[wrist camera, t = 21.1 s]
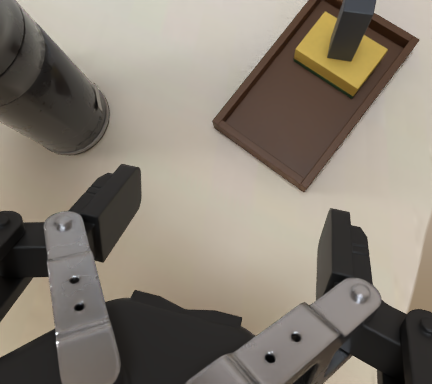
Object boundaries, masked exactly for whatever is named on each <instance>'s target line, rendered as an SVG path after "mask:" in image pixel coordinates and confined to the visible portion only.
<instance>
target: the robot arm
mask: <svg viewBox="0 0 432 384" xmlns="http://www.w3.org/2000/svg"><path fill="white" fill-rule="evenodd" d="M108 121H109V107H108V103H107V101H106V98H105V97H104V95H103V94H102V92H101V91H100V90H99V89H98V86H97V85H96V84H95V83H94V85H93V84H92V83H91V82H90V81H89V79H88V78H87V77H86V76H85V75H84V74H83V73H82V72H81V71H80V69H79V68H78V67H77V66H76V65H75V64H74V63H73V62H72V61H71V60H70V59H69V58H68V56H67V55H66V54H65V53H64V52H63V51H62V50H61V49H60V48H59V47H58V46H57V44H56V43H55V42H54V41H53V40H52V39H51V38H50V37H49V36H48V35H47V34H46V33H45V31H44V30H43V29H42V28H41V27H40V26H39V25H38V24H37V23H36V22H35V21H34V20H33V19H32V18H31V17H30V15H29V14H28V13H27V12H26V11H25V10H24V9H23V8H22V7H21V6H20V5H19V3H18V2H17V1H16V0H0V122H1V123H3V124H5V125H6V126H8V127H10V128H12V129H14V130H16V131H17V132H19V133H21V134H23V135H25V136H27V137H28V138H30V139H32V140H34V141H35V142H37V143H39V144H41V145H42V146H44V147H45V148H47V149H48V150H50V151H52V152H54V153H57V154H61V155H74V154H78V153H81V152H84V151H86V150H88V149H89V148H91V147H92V146H94V145H95V144H96V143H97V142H98V141H99V140H100V138H101V137H102V136H103V134H104V132H105V130H106V128H107V125H108ZM140 203H141V171H140V168H139V167H134V166H130V165H125V164H121V165H120V166H119V167H118V169H117V170H116V171H115V172H114V173H113V174H112V173H107V174H105V175H103V176H101V177H99V178H98V179H97V180H96V181H95V182H94V183H93V184H92V185H91V187H89V189H88V190H87V191H86V193H84V194H83V195H82V196H81V197H80V199H79V200H78V201H77V202H76V203H75V204H74V205H73V206H72V207H71V209H70V210H69V211H64V212H59V213H55V214H53V215H51V216H50V217H48V218H47V219H46V220H45V222H34V223H23V220H22V217H21V215H20V214H18V213H16V212H13V211H1V212H0V322H1V320H2V319H3V318H4V316H5V315H6V314H7V312H8V311H9V310H10V308H11V307H12V305H13V304H14V303H15V301H16V300H17V299H18V297H19V296H20V295H21V293H22V292H23V291H24V289H25V288H26V287H27V285H28V284H29V282H30V281H31V280H32V278H33V277H49V283H50V291H51V299H52V307H53V315H54V323H55V329H53V330H51V331H50V332H48V333H46V334H44V335H42V336H40V337H38V338H36V339H35V340H33V341H31V342H29V343H27V344H25V345H23V346H21V347H20V348H18V349H16V350H14V351H12V352H10V353H8V354H6V355H5V356H3V357H1V358H0V384H323V383H324V382H325V381H326V380H327V379H329V378H330V377H331V376H332V375H333V374H334V373H335V372H336V371H337V370H338V369H339V368H340V367H341V366H342V365H343V364H344V363H345V362H346V361H347V360H348V359H350V358H351V357H352V356H355V357H356V358H358V359H360V360H362V361H363V362H365V363H367V364H369V365H370V366H372V367H374V368H376V369H377V380H378V384H432V313H431V312H429V311H426V310H421V309H416V310H412V311H410V312H409V313H408V314H405V313H403V312H401V311H399V310H397V309H395V308H393V307H391V306H389V305H388V304H386V303H385V302H384V301H382V300H381V295H380V293H379V291H378V290H377V289H376V288H375V287H374V286H373V283H372V274H371V266H370V257H369V249H368V241H367V236H366V235H365V233H364V232H363V230H362V229H361V227H357V226H352V225H351V221H350V212H346V211H342V210H337V209H332V208H330V210H329V212H328V215H327V218H326V221H325V224H324V227H323V230H322V233H321V237H320V240H319V245H318V254H317V282H316V301H315V302H314V303H312V304H311V305H308V304H307V303H305V302H304V303H301V304H299V305H298V306H297V307H295V308H294V309H292V310H291V311H290V312H288V313H287V314H286V315H284V316H283V317H281V318H280V319H279V320H277V321H276V322H275V323H273V324H272V325H271V326H269V327H268V328H266V329H265V330H264V331H262V332H261V333H260V334H258V335H257V336H255V335H253V334H252V333H251V332H250V331H248V330H247V329H245V328H243V327H241V321H242V317H238V316H234V315H230V314H227V313H223V312H219V311H213V310H187V309H183V308H181V307H179V306H177V305H176V304H174V303H172V302H170V301H168V300H166V299H164V298H162V297H160V296H156V295H152V294H149V293H145V292H141V291H137V290H135V291H134V292H133V294H132V296H131V298H121V299H115V300H111V301H108V302H105V300H104V297H103V293H102V289H101V285H100V281H99V277H98V273H97V269H96V265H95V261H99V262H104V261H105V259H106V258H107V256H108V255H109V253H110V252H111V250H112V249H113V247H114V246H115V244H116V243H117V241H118V240H119V238H120V237H121V235H122V234H123V232H124V231H125V229H126V228H127V226H128V225H129V223H130V222H131V220H132V219H133V217H134V215H135V214H136V212H137V211H138V209H139V207H140ZM94 260H95V261H94Z"/></svg>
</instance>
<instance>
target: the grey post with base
mask: <svg viewBox="0 0 432 384" xmlns="http://www.w3.org/2000/svg"><path fill="white" fill-rule="evenodd" d="M375 4H376V0H343V2H342V5H341V8H340V11H339V15H338V18H335V17H334V16H332V15H331V14H329V13H327V12H324V14H323V15H322V16H321V17H320V19H319V20H318V21H317V22H316V24H315V25H314V26H313V27H312V29H311V30H310V31H309V32H308V34H307V35H306V36H305V37H304V39H303V40H302V41H301V43H300V44H299V45H298V46H297V48H296V49H295V54H294V60H293V61H294V62H296V63H297V64H299V65H300V66H302V67H303V68H305V69H307V70H308V71H310V72H311V73H313V74H314V75H316V76H317V77H319V78H320V79H322V80H324V81H325V82H327V83H328V84H330V85H331V86H333V87H334V88H336V89H337V90H339V91H340V92H342V93H344V94H345V95H347V96H348V97H350V98H351V99H352V98H353V97H354V96H355V95H356V93H357V92H358V91H359V89H360V88H361V87H362V85H363V84H364V83H365V82H366V80H367V79H368V78H369V76H370V75H371V74H372V72H373V71H374V70H375V69H376V67H377V66H378V65H379V63H380V62H381V60H382V59H383V57H384V56H385V54H386V52H387V51H388V49H387V48H385V47H383V46H382V45H380V44H378V43H377V42H375V41H373V40H372V39H370V38H368V37H367V36H365V35H364V34H365V32H366V30H367V28H368V25H369V23H370V21H371V19H372V17H373V15H374V9H375Z"/></svg>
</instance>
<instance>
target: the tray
mask: <svg viewBox="0 0 432 384" xmlns="http://www.w3.org/2000/svg"><path fill="white" fill-rule="evenodd" d="M342 2H343V0H308V2H307V3H306V4H305V5H304V7H303V8H302V9H301V11H300V12H299V13H298V14H297V16H296V17H295V18H294V19H293V21H292V22H291V23H290V24H289V26H288V27H287V28H286V29H285V31H284V32H283V33H282V34H281V36H280V37H279V38H278V39H277V41H276V42H275V43H274V44H273V46H272V47H271V48H270V49H269V51H268V52H267V53H266V54H265V56H264V57H263V58H262V59H261V61H260V62H259V63H258V64H257V66H256V67H255V68H254V69H253V71H252V72H251V73H250V74H249V76H248V77H247V78H246V79H245V81H244V82H243V83H242V85H241V86H240V87H239V88H238V90H237V91H236V92H235V93H234V95H233V96H232V97H231V98H230V100H229V101H228V102H227V103H226V105H225V106H224V107H223V108H222V110H221V111H220V112H219V113H218V115H217V116H216V117H215V118H214V120H213V121H212V122H213V125H214V128H216V129H217V130H218V131H220V132H221V133H222V134H224V135H225V136H227V137H228V138H229V139H231V140H232V141H234V142H235V143H236V144H238V145H239V146H241V147H242V148H243V149H245V150H246V151H248V152H249V153H250V154H252V155H253V156H254V157H256V158H257V159H259V160H260V161H261V162H263V163H264V164H266V165H267V166H268V167H270V168H271V169H273V170H274V171H275V172H277V173H278V174H279V175H281V176H282V177H284V178H285V179H286V180H288V181H289V182H291V183H292V184H293V185H295V186H296V187H298V188H299V189H300V190H302V191H303V192H305V190H306V189H307V188H308V186H309V185H310V184H311V183H312V181H313V180H314V179H315V177H316V176H317V175H318V173H319V172H320V171H321V169H322V168H323V167H324V165H325V164H326V163H327V161H328V160H329V159H330V158H331V156H332V155H333V154H334V152H335V151H336V150H337V148H338V147H339V146H340V144H341V143H342V142H343V140H344V139H345V138H346V136H347V135H348V134H349V133H350V131H351V130H352V129H353V127H354V126H355V125H356V123H357V122H358V121H359V119H360V118H361V117H362V115H363V114H364V113H365V111H366V110H367V109H368V108H369V106H370V105H371V104H372V102H373V101H374V100H375V98H376V97H377V96H378V94H379V93H380V92H381V90H382V89H383V88H384V86H385V85H386V84H387V83H388V81H389V80H390V79H391V77H392V76H393V75H394V73H395V72H396V71H397V69H398V68H399V67H400V65H401V64H402V63H403V61H404V60H405V59H406V58H407V56H408V55H409V54H410V52H411V51H412V50H413V48H414V47H415V46H416V44H417V43H418V41H419V39H418V38H416V37H414V36H413V35H411V34H409V33H408V32H406V31H404V30H402V29H401V28H399V27H397V26H396V25H394V24H392V23H391V22H389V21H387V20H385V19H384V18H382V17H380V16H379V15H377V14H375V13H374V15H373V17H372V19H371V21H370V23H369V25H368V28H367V30H366V32H365V34H364V35H365V36H367V37H368V38H370V39H372V40H373V41H375V42H377V43H378V44H380V45H382V46H383V47H385V48H387V49H388V51H387V52H386V54H385V56H384V57H383V59H382V60H381V62H380V63H379V65H378V66H377V67H376V69H375V70H374V71H373V72H372V74H371V75H370V76H369V78H368V79H367V80H366V82H365V83H364V84H363V85H362V87H361V88H360V89H359V91H358V92H357V93H356V95H355V96H354V97H353V98H352V99H351V98H350V97H348V96H347V95H345V94H344V93H342V92H340V91H339V90H337V89H336V88H334V87H333V86H331V85H330V84H328V83H327V82H325V81H324V80H322V79H320V78H319V77H317V76H316V75H314V74H313V73H311V72H310V71H308V70H307V69H305V68H303V67H302V66H300V65H299V64H297V63H296V62H294V61H293V60H294V54H295V49H296V48H297V46H298V45H299V44H300V43H301V41H302V40H303V39H304V37H305V36H306V35H307V34H308V32H309V31H310V30H311V29H312V27H313V26H314V25H315V24H316V22H317V21H318V20H319V19H320V17H321V16H322V15H323V14H324V12H327V13H329V14H331V15H332V16H334V17H335V18H338V15H339V11H340V8H341V5H342Z"/></svg>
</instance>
